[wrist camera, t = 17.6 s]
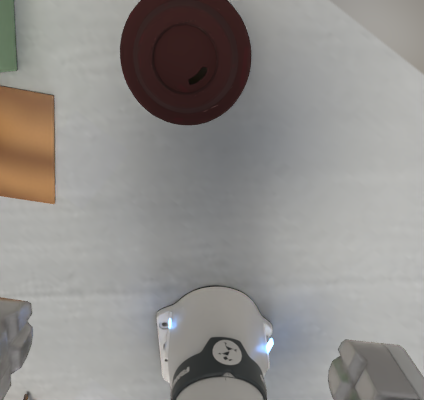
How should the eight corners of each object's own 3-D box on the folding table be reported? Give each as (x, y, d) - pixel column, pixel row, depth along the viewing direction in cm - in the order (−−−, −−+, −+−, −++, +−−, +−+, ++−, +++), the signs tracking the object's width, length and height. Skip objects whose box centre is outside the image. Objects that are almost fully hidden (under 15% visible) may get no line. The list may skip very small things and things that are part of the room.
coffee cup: (139, 11, 35) (99, -14, 21) (231, 1, 35) (251, -31, 21) (154, 106, 39) (129, 136, 26) (237, 97, 39) (257, 123, 25)
